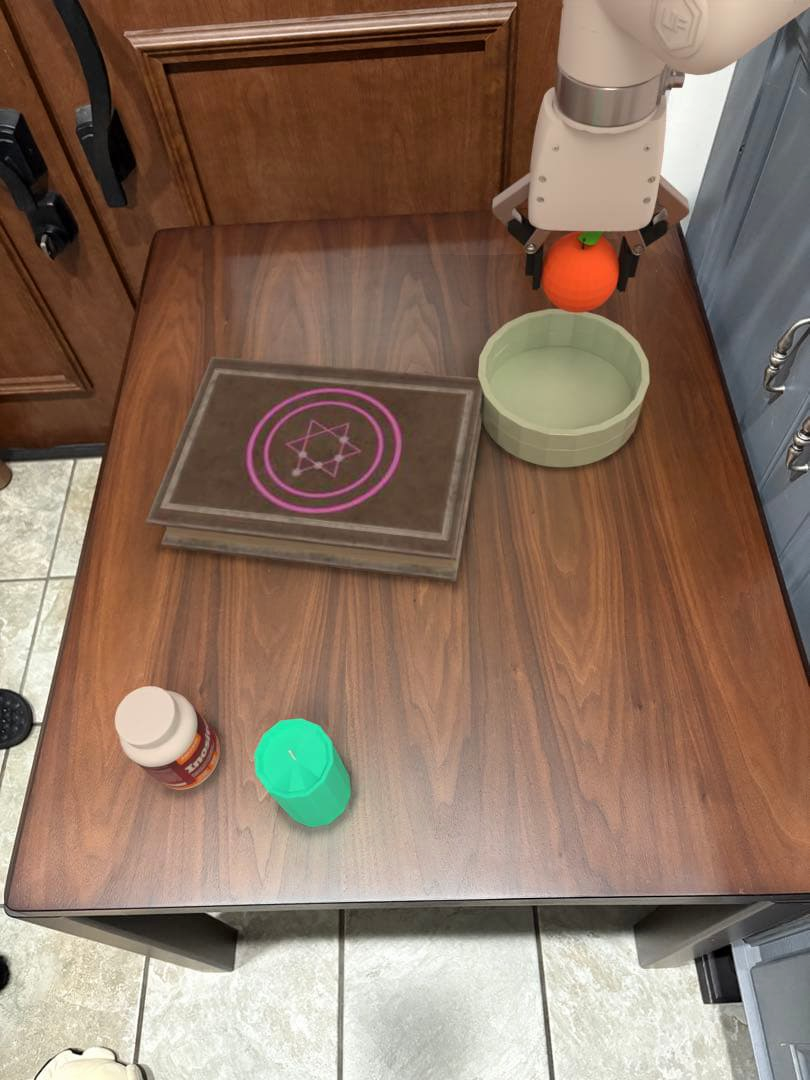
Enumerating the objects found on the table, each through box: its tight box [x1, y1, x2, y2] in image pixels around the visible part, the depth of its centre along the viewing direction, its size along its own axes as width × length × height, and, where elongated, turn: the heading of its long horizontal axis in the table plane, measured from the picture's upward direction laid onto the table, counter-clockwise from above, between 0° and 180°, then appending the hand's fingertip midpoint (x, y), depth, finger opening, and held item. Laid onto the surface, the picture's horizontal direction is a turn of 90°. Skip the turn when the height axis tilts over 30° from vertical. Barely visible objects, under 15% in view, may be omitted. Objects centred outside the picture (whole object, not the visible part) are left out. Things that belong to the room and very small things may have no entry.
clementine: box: [541, 231, 620, 313], centre depth 71 cm, size 8×7×7 cm
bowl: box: [477, 308, 651, 468], centre depth 85 cm, size 18×18×6 cm
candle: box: [253, 717, 352, 828], centre depth 63 cm, size 6×6×12 cm
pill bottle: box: [114, 685, 221, 791], centre depth 65 cm, size 6×6×11 cm
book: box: [145, 356, 483, 583], centre depth 83 cm, size 30×22×5 cm
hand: (578, 279), depth 72 cm, fingers closed on clementine, 7 cm apart
